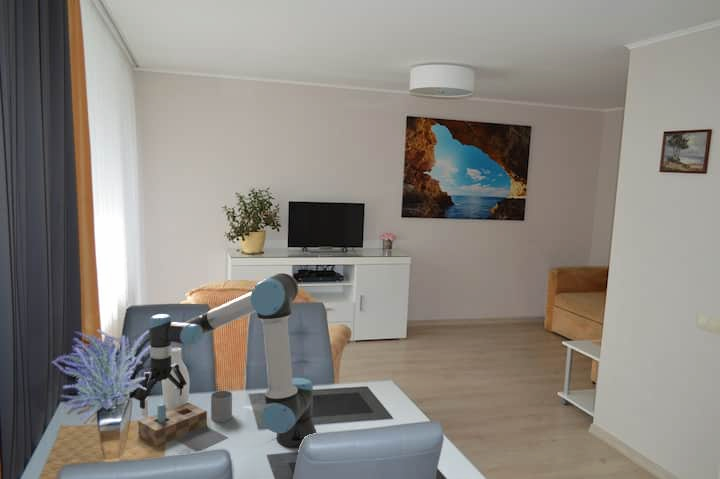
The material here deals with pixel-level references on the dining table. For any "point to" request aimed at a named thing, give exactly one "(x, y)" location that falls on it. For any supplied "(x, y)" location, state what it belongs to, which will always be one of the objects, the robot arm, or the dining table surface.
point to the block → (173, 423)
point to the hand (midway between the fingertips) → (161, 410)
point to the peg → (161, 413)
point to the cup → (221, 406)
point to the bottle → (169, 386)
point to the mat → (201, 439)
